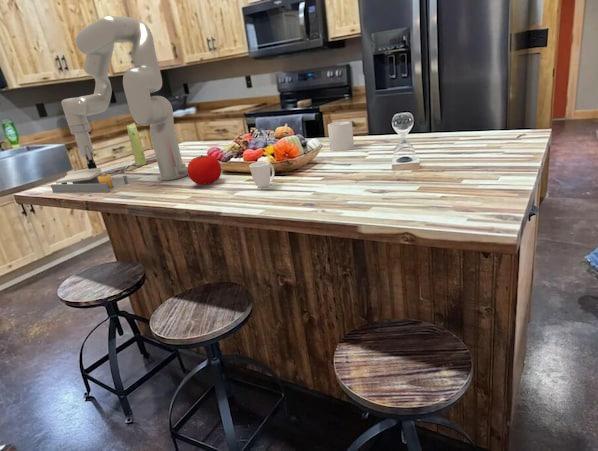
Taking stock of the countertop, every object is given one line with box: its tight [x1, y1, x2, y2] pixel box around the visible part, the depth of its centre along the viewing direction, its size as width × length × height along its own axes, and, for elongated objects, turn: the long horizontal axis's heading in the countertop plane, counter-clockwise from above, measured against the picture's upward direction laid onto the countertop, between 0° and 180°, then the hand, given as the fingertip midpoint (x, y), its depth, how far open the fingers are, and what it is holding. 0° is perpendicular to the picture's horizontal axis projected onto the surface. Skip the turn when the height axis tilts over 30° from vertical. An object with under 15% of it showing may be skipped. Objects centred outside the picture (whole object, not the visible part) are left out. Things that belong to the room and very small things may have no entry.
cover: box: [55, 167, 102, 184], centre depth 174 cm, size 15×11×5 cm
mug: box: [327, 120, 355, 152], centre depth 180 cm, size 14×10×11 cm
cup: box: [248, 160, 275, 191], centre depth 139 cm, size 7×10×8 cm
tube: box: [126, 122, 148, 167], centre depth 200 cm, size 6×5×20 cm
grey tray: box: [50, 175, 143, 194], centre depth 173 cm, size 30×20×4 cm, turn 68°
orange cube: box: [97, 173, 113, 188], centre depth 166 cm, size 5×5×5 cm
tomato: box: [187, 154, 222, 185], centre depth 152 cm, size 11×12×10 cm
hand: (93, 171), depth 181 cm, fingers closed
